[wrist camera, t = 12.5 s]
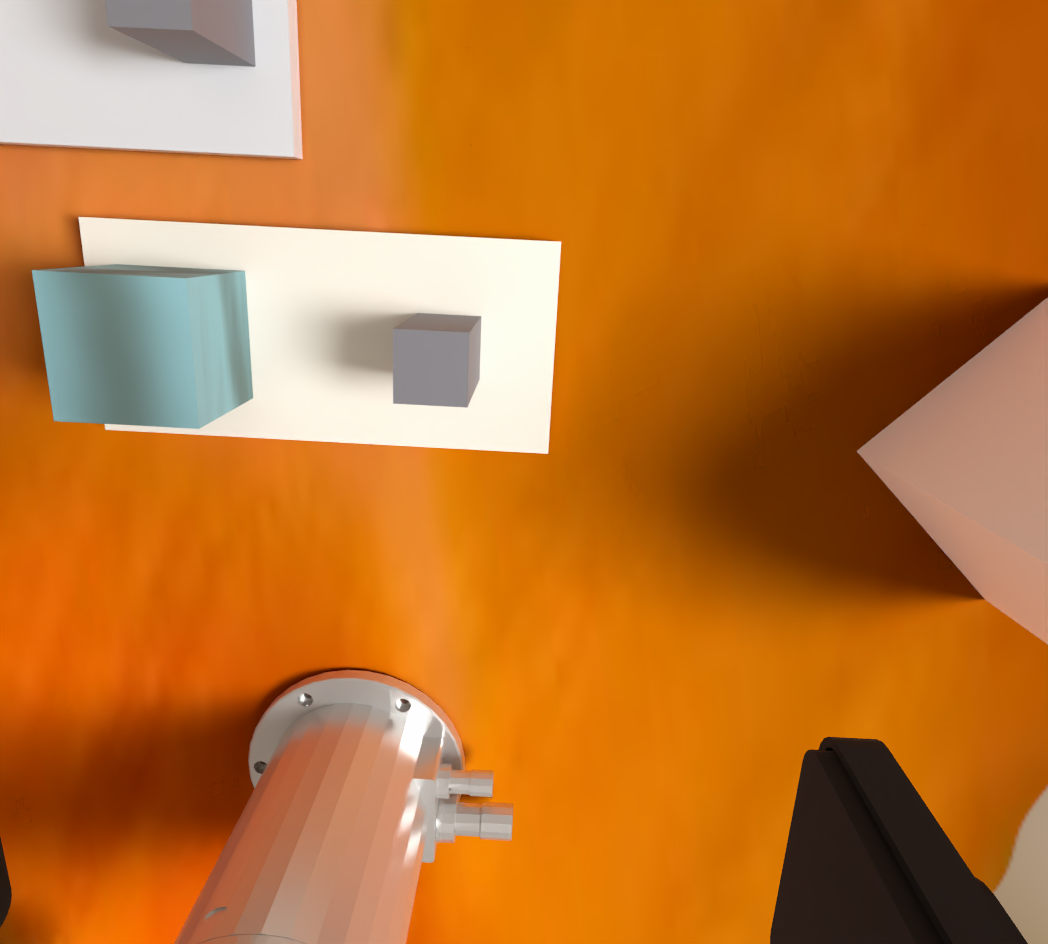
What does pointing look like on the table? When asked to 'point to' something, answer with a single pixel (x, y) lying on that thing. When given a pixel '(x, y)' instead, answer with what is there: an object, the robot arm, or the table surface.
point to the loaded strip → (373, 330)
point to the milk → (983, 469)
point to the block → (144, 343)
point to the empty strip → (152, 76)
